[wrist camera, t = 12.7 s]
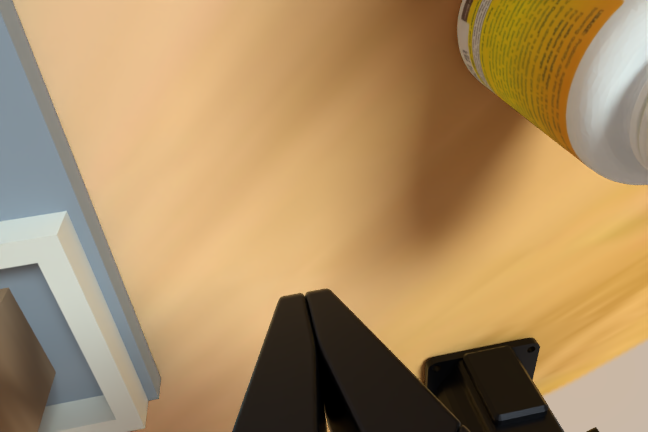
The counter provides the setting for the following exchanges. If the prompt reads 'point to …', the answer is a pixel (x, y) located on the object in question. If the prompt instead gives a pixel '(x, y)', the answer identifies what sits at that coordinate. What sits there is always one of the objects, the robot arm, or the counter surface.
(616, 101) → the supplement bottle
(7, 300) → the brown block
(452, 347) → the counter surface
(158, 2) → the counter surface
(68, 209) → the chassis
